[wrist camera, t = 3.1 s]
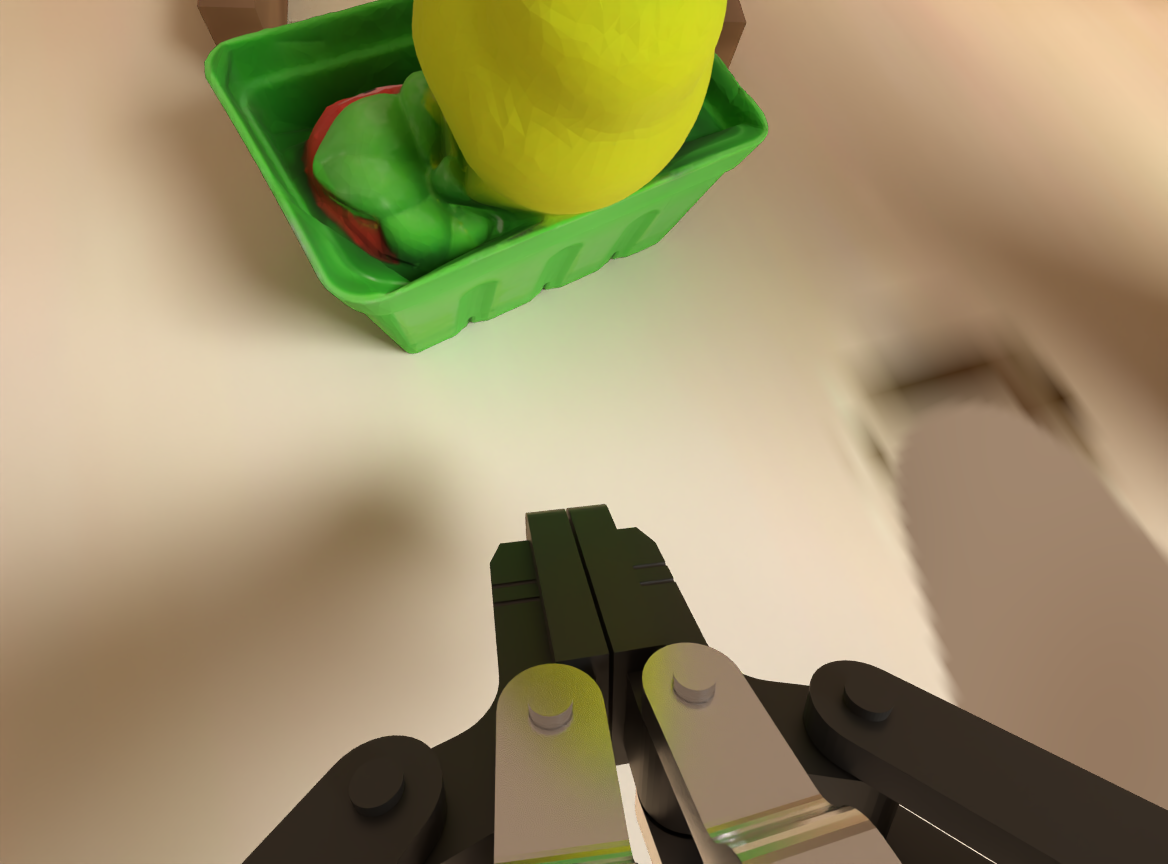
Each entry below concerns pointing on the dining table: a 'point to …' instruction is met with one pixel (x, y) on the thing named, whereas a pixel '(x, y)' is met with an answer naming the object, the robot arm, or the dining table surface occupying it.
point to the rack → (256, 3)
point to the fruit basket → (483, 143)
